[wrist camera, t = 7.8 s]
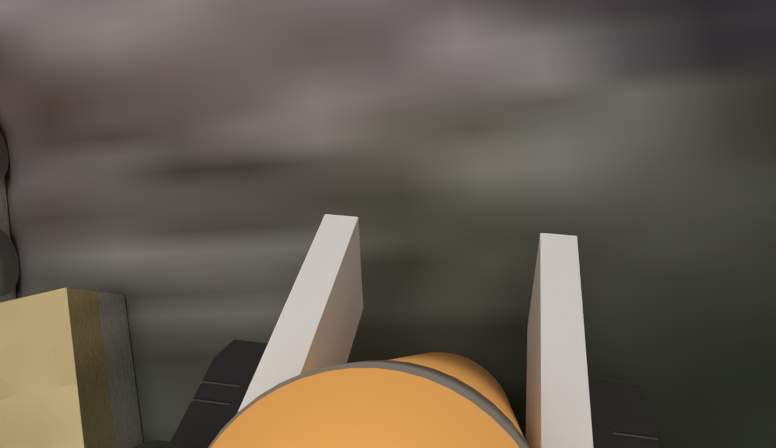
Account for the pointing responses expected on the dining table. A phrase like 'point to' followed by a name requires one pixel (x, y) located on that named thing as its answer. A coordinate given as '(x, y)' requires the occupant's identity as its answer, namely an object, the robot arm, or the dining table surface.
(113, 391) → the square loop key
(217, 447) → the orange pin
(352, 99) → the dining table surface
